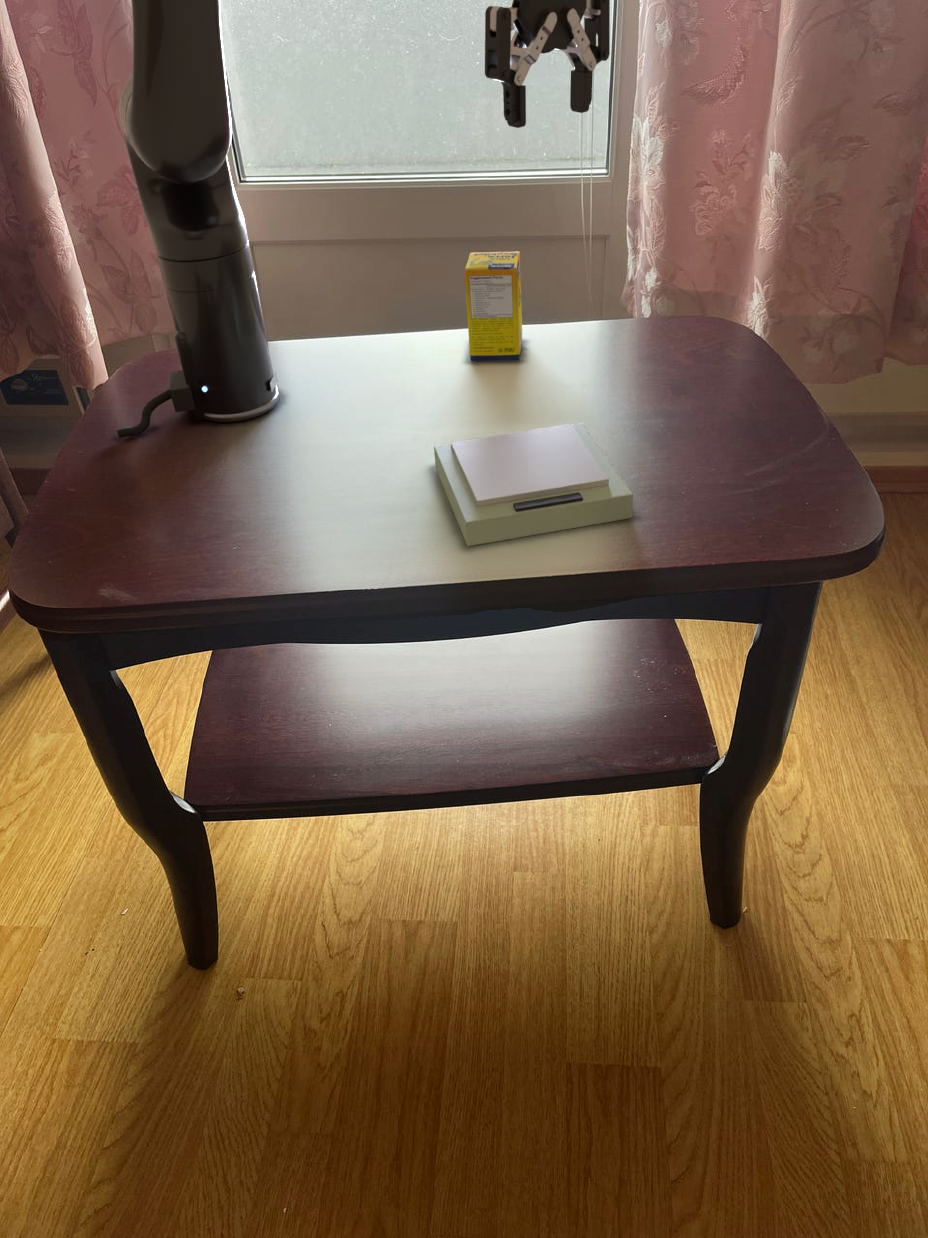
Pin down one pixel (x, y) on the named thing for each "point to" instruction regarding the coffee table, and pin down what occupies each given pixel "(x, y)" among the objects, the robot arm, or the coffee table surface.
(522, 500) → the scale
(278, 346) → the coffee table surface
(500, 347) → the supplement box
